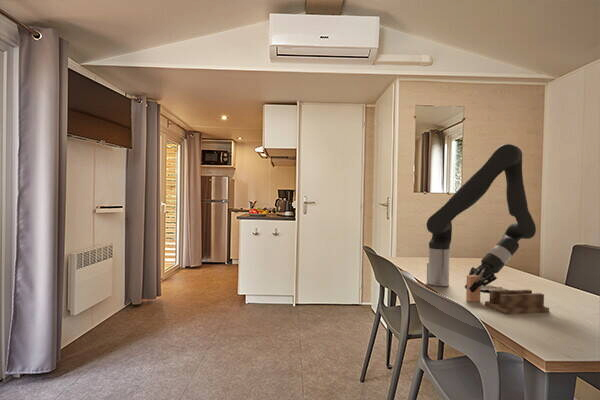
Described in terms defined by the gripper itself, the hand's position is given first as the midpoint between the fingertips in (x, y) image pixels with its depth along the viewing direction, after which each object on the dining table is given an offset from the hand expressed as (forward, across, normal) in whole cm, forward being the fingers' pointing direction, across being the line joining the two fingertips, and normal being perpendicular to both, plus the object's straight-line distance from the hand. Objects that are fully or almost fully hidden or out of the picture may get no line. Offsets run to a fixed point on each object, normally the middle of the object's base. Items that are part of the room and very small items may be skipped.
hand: (468, 289), depth 149 cm
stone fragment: (-13, -9, +20) cm, 26 cm away
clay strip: (+2, 0, +5) cm, 5 cm away
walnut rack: (-5, +12, +11) cm, 17 cm away
